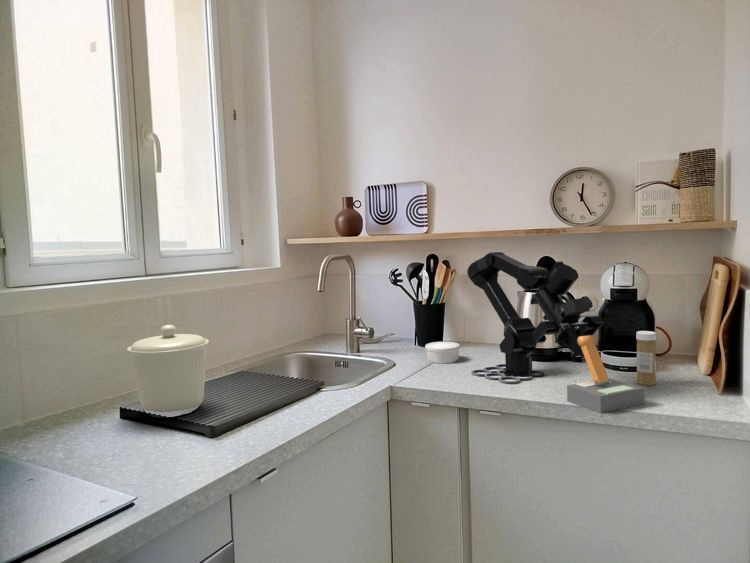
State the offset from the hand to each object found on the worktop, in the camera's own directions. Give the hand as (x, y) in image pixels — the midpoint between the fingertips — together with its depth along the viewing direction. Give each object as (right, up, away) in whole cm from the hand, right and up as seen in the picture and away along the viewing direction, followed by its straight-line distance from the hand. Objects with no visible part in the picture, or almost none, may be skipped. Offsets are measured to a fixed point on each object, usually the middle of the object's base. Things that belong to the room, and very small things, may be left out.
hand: (586, 356), depth 124 cm
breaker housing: (+2, -10, -4) cm, 11 cm away
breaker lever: (+2, -6, -4) cm, 8 cm away
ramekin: (-29, -8, +44) cm, 53 cm away
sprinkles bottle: (+20, -8, +10) cm, 23 cm away
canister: (-99, -13, 0) cm, 100 cm away
